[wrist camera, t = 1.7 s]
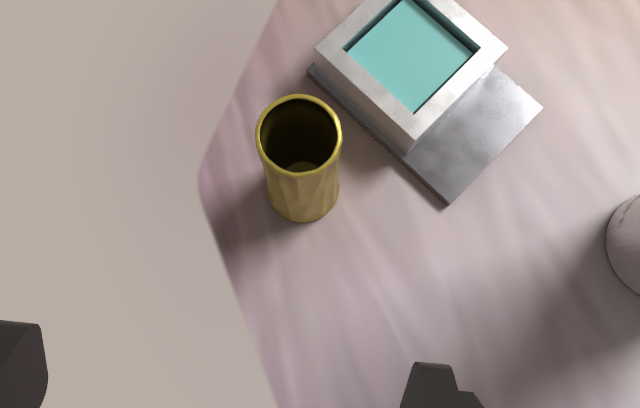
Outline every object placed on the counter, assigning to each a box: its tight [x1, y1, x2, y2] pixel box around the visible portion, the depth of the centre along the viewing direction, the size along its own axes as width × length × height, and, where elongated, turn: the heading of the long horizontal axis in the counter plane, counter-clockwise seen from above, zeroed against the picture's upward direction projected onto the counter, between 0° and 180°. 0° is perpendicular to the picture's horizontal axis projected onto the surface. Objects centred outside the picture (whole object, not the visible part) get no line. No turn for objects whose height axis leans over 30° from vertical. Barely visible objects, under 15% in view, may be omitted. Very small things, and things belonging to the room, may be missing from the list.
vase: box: [255, 94, 343, 223], centre depth 39 cm, size 6×6×14 cm
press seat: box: [347, 0, 473, 114], centre depth 44 cm, size 7×7×1 cm
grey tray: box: [307, 0, 543, 206], centre depth 45 cm, size 17×12×5 cm
